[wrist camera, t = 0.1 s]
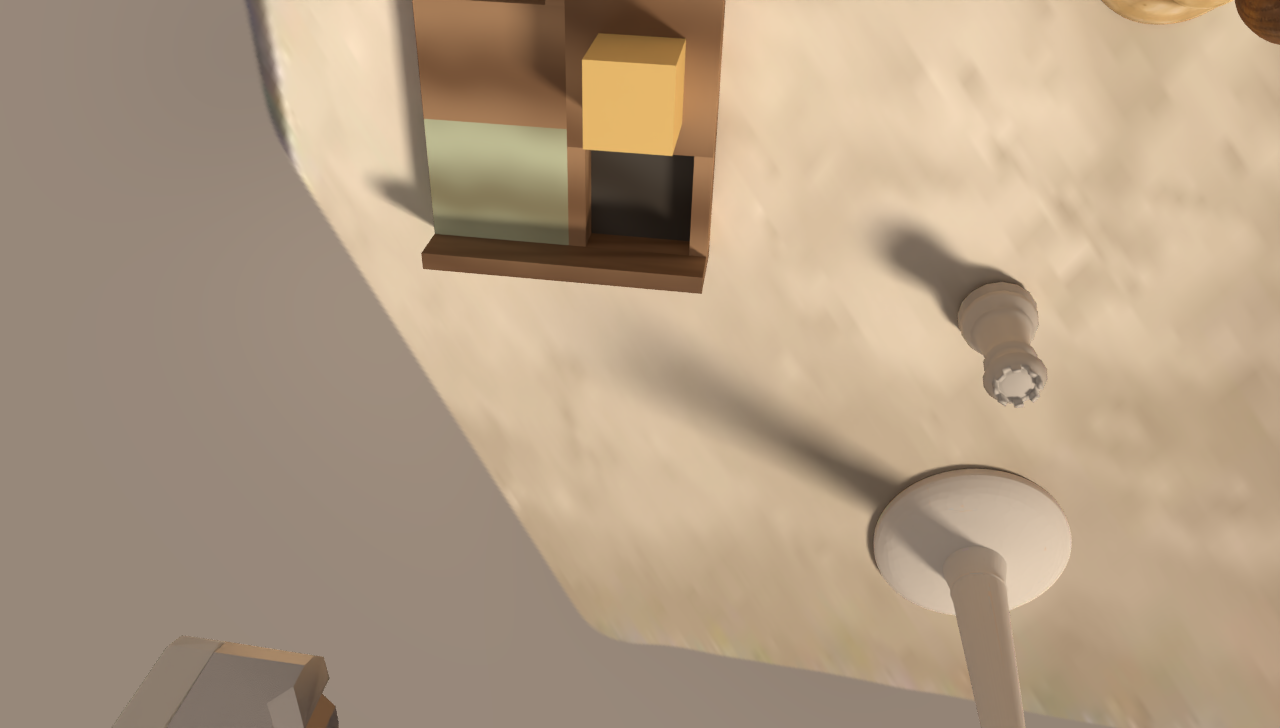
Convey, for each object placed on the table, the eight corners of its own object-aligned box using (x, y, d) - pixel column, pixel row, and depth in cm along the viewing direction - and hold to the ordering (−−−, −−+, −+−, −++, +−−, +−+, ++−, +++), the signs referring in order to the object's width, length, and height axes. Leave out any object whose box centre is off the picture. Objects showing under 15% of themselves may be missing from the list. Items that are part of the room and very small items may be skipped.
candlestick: (1111, 543, 68) (1280, 1030, 44) (963, 635, 75) (1036, 1105, 50) (976, 435, 65) (1076, 894, 40) (834, 541, 72) (844, 993, 47)
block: (598, 33, 53) (582, 59, 49) (685, 38, 52) (676, 65, 49) (598, 118, 55) (582, 149, 52) (682, 124, 55) (672, 155, 51)
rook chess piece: (940, 310, 61) (955, 386, 54) (1003, 263, 59) (1026, 336, 52) (988, 357, 62) (1009, 437, 55) (1052, 312, 60) (1081, 390, 53)
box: (409, -171, 51) (377, -160, 47) (735, -157, 49) (729, -144, 45) (446, 234, 63) (423, 268, 59) (708, 256, 61) (701, 293, 57)
